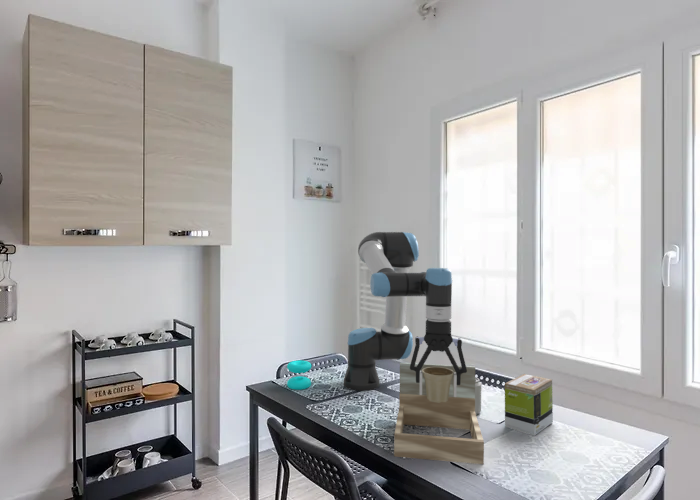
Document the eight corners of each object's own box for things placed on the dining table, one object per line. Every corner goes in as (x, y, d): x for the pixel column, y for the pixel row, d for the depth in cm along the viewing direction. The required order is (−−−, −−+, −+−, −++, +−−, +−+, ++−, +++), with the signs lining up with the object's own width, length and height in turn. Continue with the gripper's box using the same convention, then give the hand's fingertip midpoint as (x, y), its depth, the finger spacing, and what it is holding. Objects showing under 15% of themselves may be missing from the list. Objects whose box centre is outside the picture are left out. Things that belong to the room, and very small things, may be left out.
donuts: (308, 366, 176) (284, 365, 178) (308, 391, 177) (283, 390, 178) (313, 360, 186) (290, 359, 188) (313, 383, 186) (290, 382, 188)
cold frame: (399, 422, 146) (400, 362, 146) (474, 428, 142) (474, 366, 142) (394, 456, 123) (394, 384, 122) (483, 464, 119) (484, 390, 118)
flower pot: (451, 395, 136) (451, 367, 136) (455, 405, 127) (456, 376, 127) (420, 393, 137) (421, 366, 137) (422, 404, 128) (423, 374, 128)
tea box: (523, 415, 154) (524, 372, 154) (553, 423, 147) (554, 379, 147) (503, 427, 143) (504, 381, 143) (534, 436, 136) (535, 389, 136)
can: (477, 417, 151) (478, 382, 151) (456, 413, 155) (456, 379, 155) (483, 411, 157) (483, 377, 157) (462, 406, 161) (463, 374, 161)
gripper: (400, 320, 130) (400, 396, 130) (477, 323, 126) (477, 401, 127) (402, 316, 138) (401, 388, 138) (475, 319, 134) (474, 392, 134)
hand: (437, 394), depth 132 cm, fingers closed on flower pot, 9 cm apart
